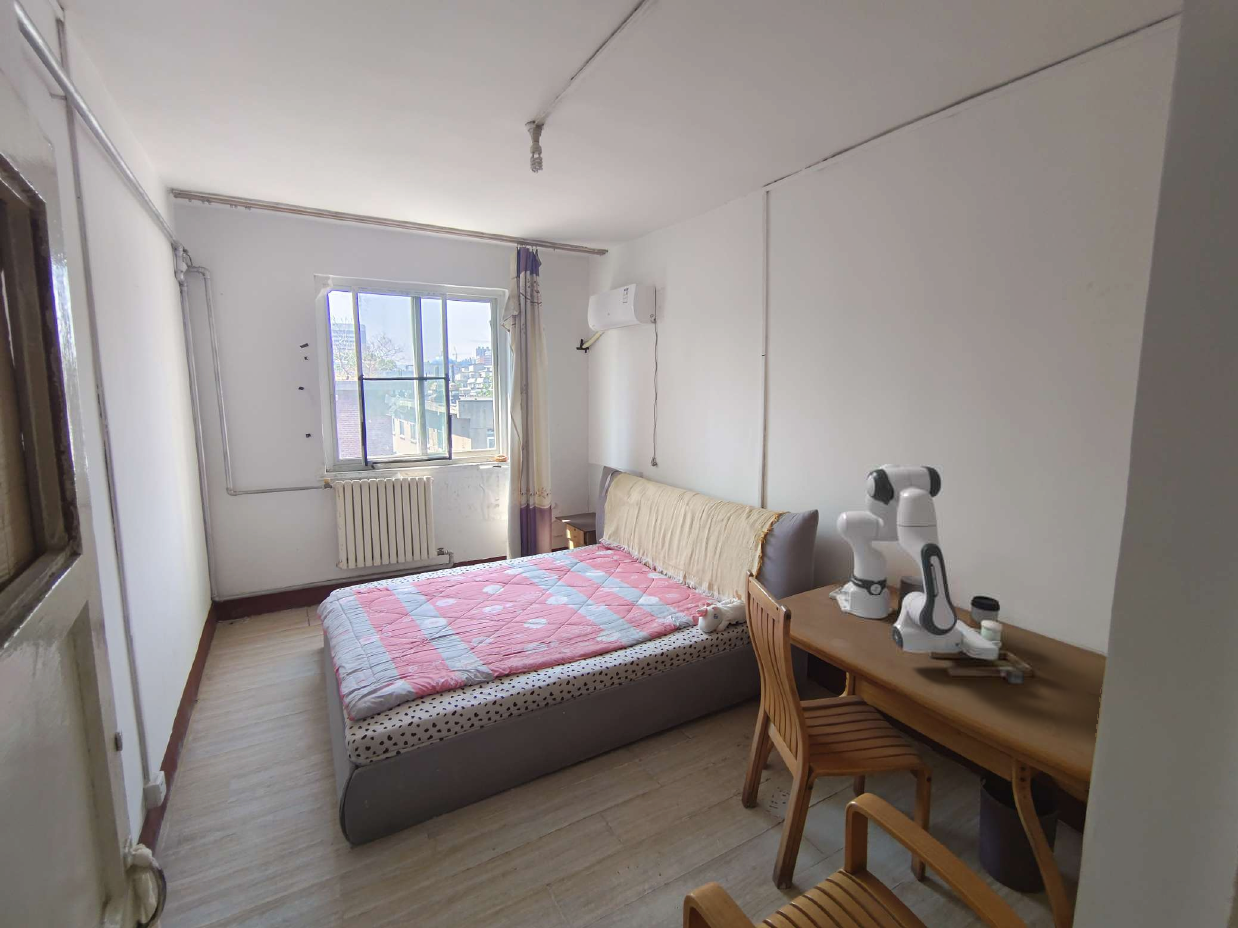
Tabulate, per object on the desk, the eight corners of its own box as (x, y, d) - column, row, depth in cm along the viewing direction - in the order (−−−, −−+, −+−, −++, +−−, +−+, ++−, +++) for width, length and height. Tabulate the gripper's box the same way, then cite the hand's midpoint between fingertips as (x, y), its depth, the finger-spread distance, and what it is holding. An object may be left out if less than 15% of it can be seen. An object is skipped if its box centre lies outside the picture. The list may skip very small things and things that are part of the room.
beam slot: (927, 655, 183) (928, 646, 182) (1006, 656, 182) (1007, 647, 182) (957, 682, 166) (958, 672, 166) (1043, 683, 166) (1044, 673, 166)
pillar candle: (891, 611, 217) (894, 573, 215) (909, 606, 221) (912, 570, 219) (914, 621, 209) (917, 582, 206) (932, 616, 213) (935, 578, 210)
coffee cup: (966, 634, 198) (971, 593, 195) (995, 640, 193) (1000, 598, 191) (966, 644, 191) (971, 601, 188) (996, 650, 186) (1001, 606, 184)
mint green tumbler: (974, 652, 179) (977, 619, 177) (991, 652, 178) (995, 620, 177) (984, 660, 173) (988, 627, 172) (1002, 661, 173) (1006, 627, 172)
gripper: (968, 643, 164) (1017, 644, 164) (931, 614, 185) (974, 615, 184) (966, 664, 165) (1014, 664, 165) (929, 633, 186) (972, 633, 185)
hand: (993, 638), depth 175 cm, fingers closed on mint green tumbler, 5 cm apart
